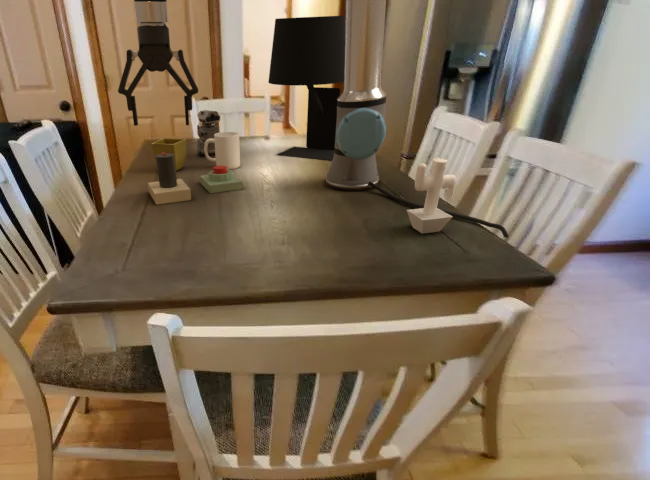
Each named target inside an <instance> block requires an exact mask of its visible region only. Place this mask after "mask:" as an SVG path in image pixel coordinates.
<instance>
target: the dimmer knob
mask: <svg viewBox="0 0 650 480" xmlns="http://www.w3.org/2000/svg"><path fill="white" fill-rule="evenodd" d="M155 157H156V159H155V163H156V170H157V177H158V181H159V185H160V187H162V188H172V187H175V186H177V179H178V178H177V171H176V170H175V162H174V154H171V153H164V152H162V154H158V155H156V156H154V158H155Z"/></svg>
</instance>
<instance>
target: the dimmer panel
mask: <svg viewBox="0 0 650 480" xmlns="http://www.w3.org/2000/svg"><path fill="white" fill-rule="evenodd" d="M176 179H177V186H175V187H172V188H162V187H160V185H159V180H158V181H151V182H147V187H148V193H149V195H150V197H151V198H152V200H153V202H154V203H155V205H157V206H158V205H164V204H172V203H179V202H180V203H181V202H188V201H192V194H191V193H192V192H191V188H190V187H189V186H188V185H187V183H186V182H185V181H184V180H183V179H182V178H176Z"/></svg>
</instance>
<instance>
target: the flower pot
mask: <svg viewBox="0 0 650 480" xmlns="http://www.w3.org/2000/svg"><path fill="white" fill-rule="evenodd" d="M150 145H151V149H152V153H153V155H154V160H156V157H155V156H156V155H158V154H162V152H164V153H171V154H174V162H175V170H176V172H177V171H179V170H180V169H182V168H183V167H184V165H185V161H186V157H187V138H171V137H170V138H168V137H166V138H161V139H158V140H156V141H154V142H151V143H150Z"/></svg>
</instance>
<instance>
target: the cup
mask: <svg viewBox="0 0 650 480" xmlns="http://www.w3.org/2000/svg"><path fill="white" fill-rule="evenodd" d="M209 143H215V150H214V154H215V155H214V156H215V157H211V156H210V155H209V152H208V151H209V150H207V147H208V144H209ZM240 148H241V147H240V132H236V131H221V132H220V131H219V133H216V134H214V139H208V140H206V142H205V146H204V150H203V152H204V156H205V158H206V160H207V161H209V162H211V163H215V166H220V165H222V166H226V167H227V170H235V169H239V168H240V167H241V149H240Z"/></svg>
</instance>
